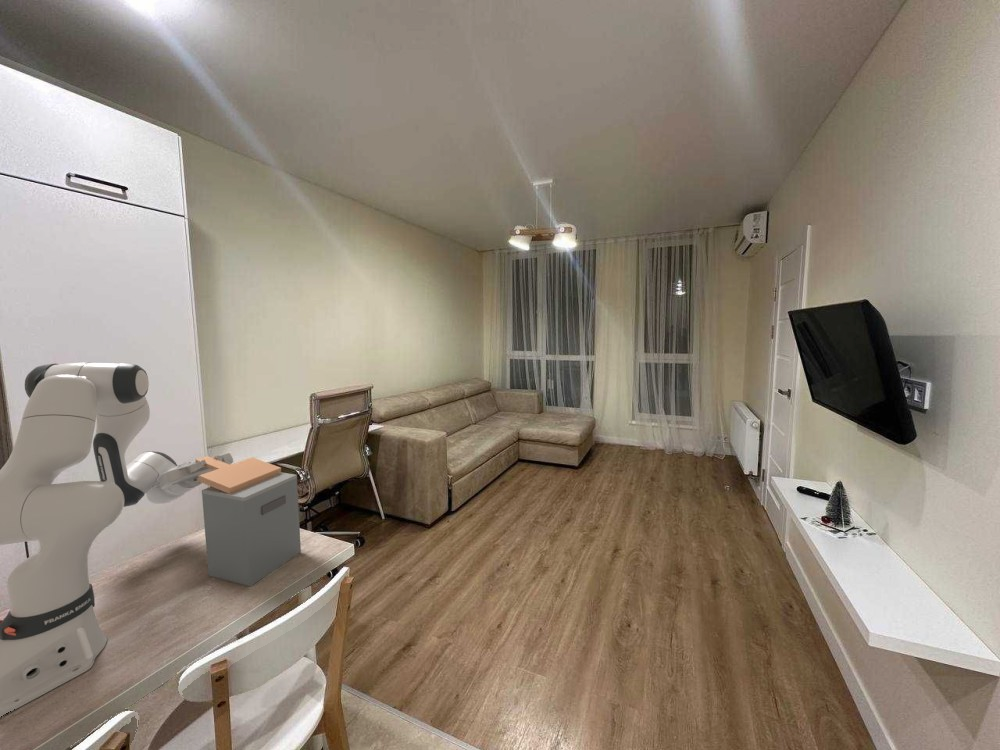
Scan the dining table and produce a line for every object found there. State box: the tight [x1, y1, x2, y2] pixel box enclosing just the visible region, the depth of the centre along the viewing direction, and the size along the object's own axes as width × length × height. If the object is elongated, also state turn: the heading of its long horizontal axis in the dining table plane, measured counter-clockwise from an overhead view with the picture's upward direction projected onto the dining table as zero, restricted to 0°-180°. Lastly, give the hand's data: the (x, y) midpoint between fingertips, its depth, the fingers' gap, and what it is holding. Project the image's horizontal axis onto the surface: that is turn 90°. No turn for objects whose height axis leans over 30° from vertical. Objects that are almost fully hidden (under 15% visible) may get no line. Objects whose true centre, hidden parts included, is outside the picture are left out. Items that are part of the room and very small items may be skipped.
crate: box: [201, 471, 302, 587], centre depth 117 cm, size 18×16×26 cm
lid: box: [195, 455, 282, 494], centre depth 119 cm, size 17×23×2 cm
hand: (211, 460), depth 120 cm, fingers closed on lid, 3 cm apart
